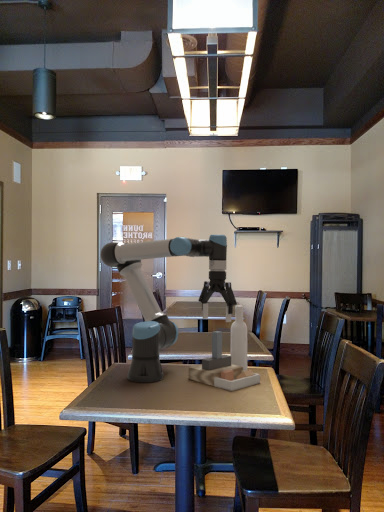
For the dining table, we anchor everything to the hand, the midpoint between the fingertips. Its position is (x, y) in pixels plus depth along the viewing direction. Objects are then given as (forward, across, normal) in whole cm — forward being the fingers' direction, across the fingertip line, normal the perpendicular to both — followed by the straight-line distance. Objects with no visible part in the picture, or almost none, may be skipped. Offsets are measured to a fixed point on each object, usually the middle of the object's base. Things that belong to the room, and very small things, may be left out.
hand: (216, 320), depth 179 cm
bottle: (+25, -2, +18) cm, 31 cm away
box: (+25, +12, 0) cm, 28 cm away
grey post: (+20, 0, 0) cm, 20 cm away
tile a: (+22, +8, -3) cm, 24 cm away
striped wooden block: (+25, 0, 0) cm, 25 cm away
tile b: (+21, +12, +4) cm, 24 cm away
